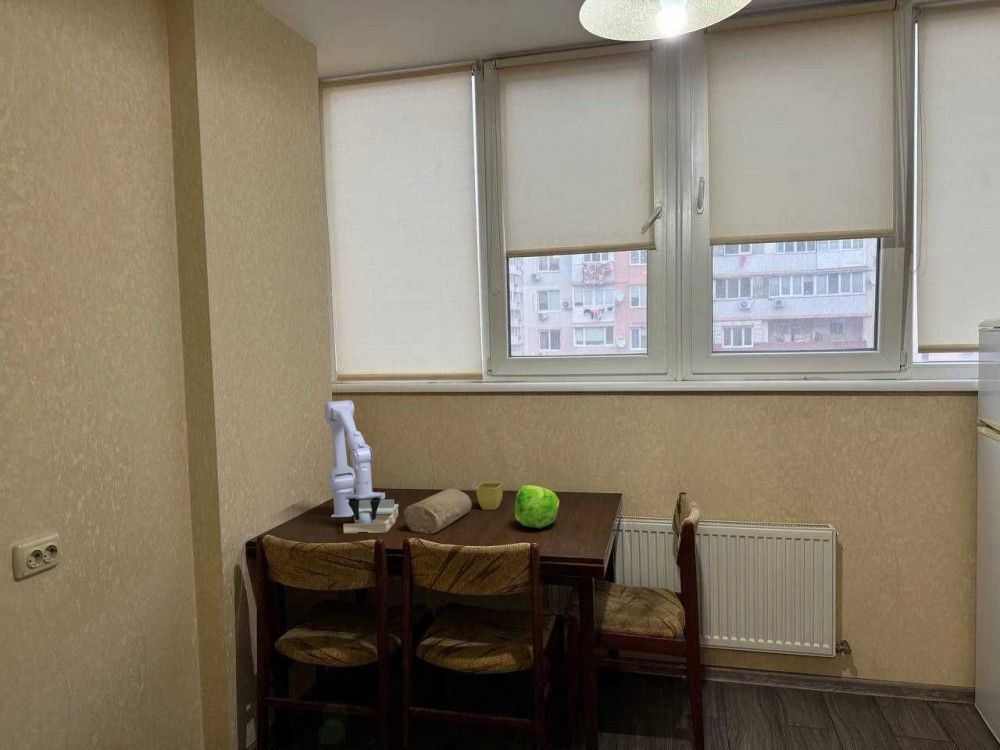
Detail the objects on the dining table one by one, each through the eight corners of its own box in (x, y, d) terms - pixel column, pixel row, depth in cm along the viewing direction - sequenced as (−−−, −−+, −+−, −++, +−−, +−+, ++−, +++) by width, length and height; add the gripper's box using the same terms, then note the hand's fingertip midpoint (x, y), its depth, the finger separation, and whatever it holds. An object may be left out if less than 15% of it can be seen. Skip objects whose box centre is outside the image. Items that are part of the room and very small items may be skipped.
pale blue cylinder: (361, 525, 236) (361, 510, 236) (373, 525, 236) (373, 510, 235) (358, 529, 232) (357, 514, 231) (370, 529, 231) (369, 513, 231)
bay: (361, 516, 248) (361, 508, 248) (400, 515, 247) (400, 507, 247) (343, 533, 228) (343, 524, 228) (386, 532, 227) (385, 523, 226)
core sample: (472, 514, 244) (471, 488, 244) (439, 536, 220) (437, 506, 219) (439, 512, 250) (437, 486, 249) (402, 533, 225) (401, 504, 225)
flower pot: (476, 511, 248) (474, 487, 248) (482, 505, 256) (481, 482, 256) (498, 511, 246) (497, 487, 245) (504, 505, 254) (503, 482, 254)
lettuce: (554, 517, 236) (562, 481, 233) (552, 543, 216) (560, 505, 213) (514, 508, 237) (521, 473, 234) (508, 533, 217) (516, 495, 214)
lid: (362, 507, 250) (361, 497, 249) (398, 506, 248) (397, 496, 248) (354, 514, 240) (353, 504, 239) (391, 513, 238) (391, 503, 238)
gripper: (339, 484, 230) (342, 522, 230) (380, 483, 228) (382, 522, 229) (346, 480, 237) (348, 517, 237) (385, 478, 235) (388, 516, 236)
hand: (365, 519), depth 234 cm, fingers open, 5 cm apart
